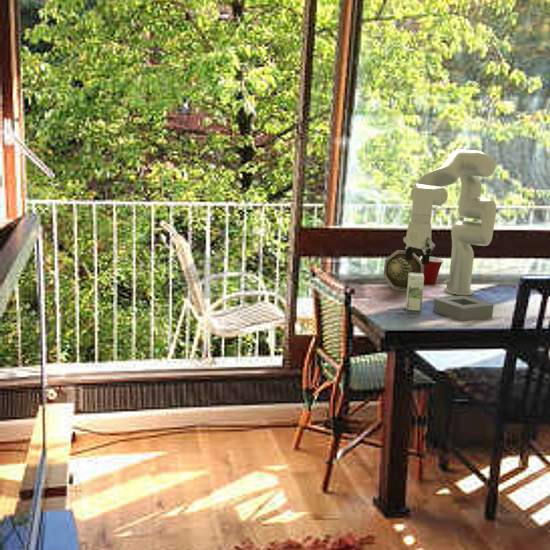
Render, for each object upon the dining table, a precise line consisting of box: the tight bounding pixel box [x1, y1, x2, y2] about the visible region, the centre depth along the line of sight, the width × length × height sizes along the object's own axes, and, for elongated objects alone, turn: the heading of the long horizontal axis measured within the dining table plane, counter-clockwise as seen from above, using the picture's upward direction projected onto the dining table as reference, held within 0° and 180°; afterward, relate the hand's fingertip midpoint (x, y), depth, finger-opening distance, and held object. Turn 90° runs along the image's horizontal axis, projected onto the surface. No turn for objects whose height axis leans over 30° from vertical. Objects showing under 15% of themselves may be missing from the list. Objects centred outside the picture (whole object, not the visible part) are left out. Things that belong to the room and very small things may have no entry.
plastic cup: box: [419, 255, 444, 286], centre depth 353 cm, size 11×11×12 cm
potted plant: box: [383, 249, 424, 292], centre depth 334 cm, size 18×18×30 cm
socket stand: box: [432, 295, 494, 322], centre depth 300 cm, size 16×16×5 cm
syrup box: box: [405, 273, 424, 312], centre depth 303 cm, size 6×6×14 cm
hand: (416, 262), depth 300 cm, fingers open, 9 cm apart
